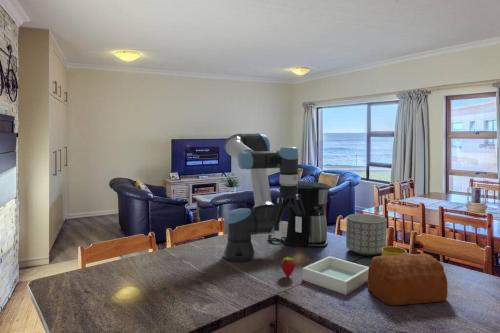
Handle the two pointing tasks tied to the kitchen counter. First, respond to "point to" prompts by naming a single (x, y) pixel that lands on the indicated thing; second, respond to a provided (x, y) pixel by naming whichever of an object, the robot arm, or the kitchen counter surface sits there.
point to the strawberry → (288, 266)
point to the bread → (407, 279)
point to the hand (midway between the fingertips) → (288, 235)
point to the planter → (366, 233)
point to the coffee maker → (308, 217)
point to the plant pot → (392, 251)
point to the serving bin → (336, 274)
